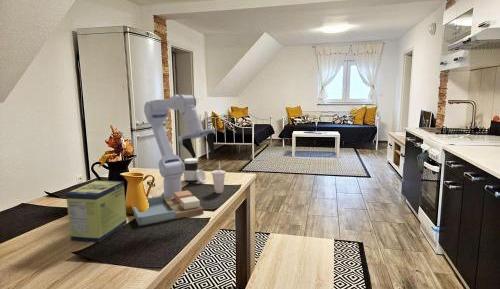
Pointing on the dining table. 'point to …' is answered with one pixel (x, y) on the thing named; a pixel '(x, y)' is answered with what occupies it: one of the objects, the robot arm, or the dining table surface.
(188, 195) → the terracotta tile
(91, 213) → the protein box
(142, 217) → the box
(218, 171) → the smoothie
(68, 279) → the dining table surface
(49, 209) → the dining table surface
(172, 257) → the dining table surface
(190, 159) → the spread jar
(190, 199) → the cream tile
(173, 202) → the walnut board
